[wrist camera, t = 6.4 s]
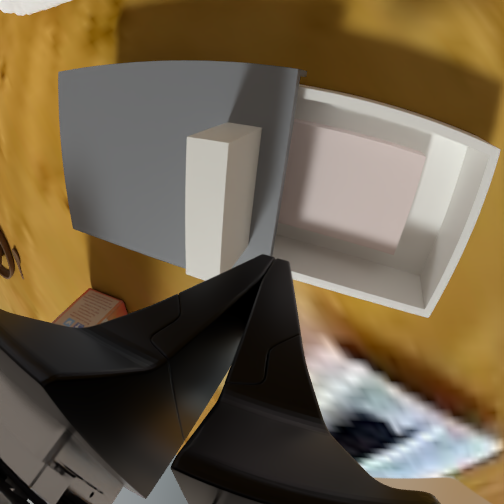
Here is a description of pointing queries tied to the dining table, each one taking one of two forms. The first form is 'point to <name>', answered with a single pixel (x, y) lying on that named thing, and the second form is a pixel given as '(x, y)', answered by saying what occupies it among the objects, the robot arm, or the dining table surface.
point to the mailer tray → (378, 199)
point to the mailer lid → (179, 157)
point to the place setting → (8, 258)
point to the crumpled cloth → (28, 5)
